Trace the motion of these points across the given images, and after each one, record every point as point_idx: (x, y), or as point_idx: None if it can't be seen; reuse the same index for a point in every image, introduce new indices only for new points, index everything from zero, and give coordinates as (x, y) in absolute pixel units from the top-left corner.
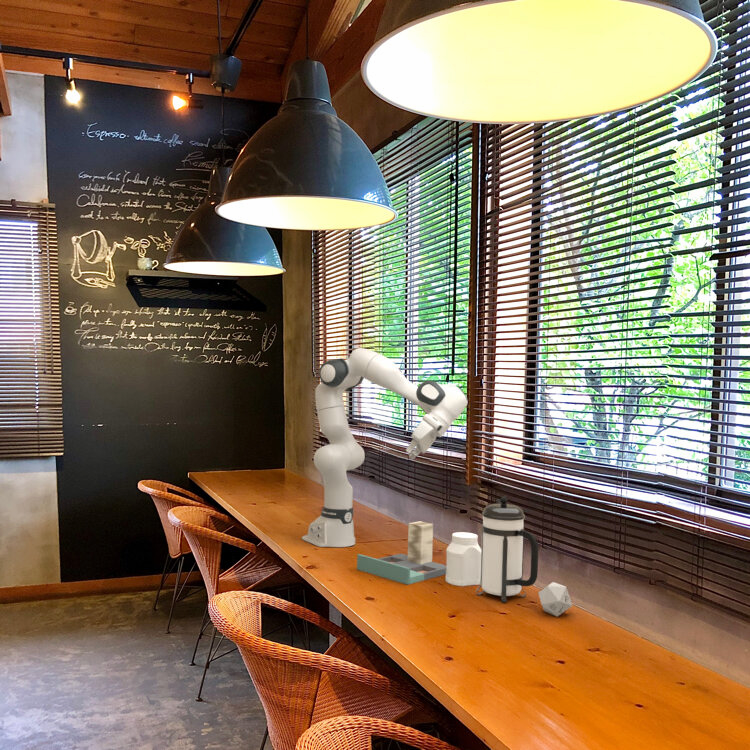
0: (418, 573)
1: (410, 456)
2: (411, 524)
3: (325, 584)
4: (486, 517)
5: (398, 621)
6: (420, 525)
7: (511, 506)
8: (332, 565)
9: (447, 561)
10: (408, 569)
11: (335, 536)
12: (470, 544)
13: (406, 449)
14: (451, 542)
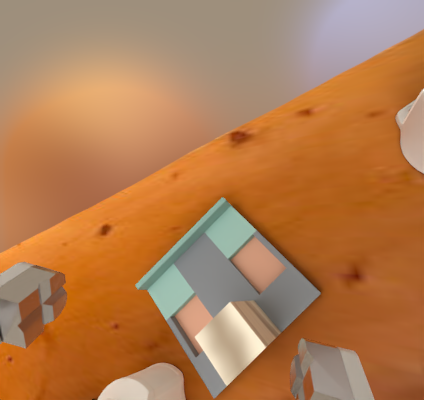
0: (168, 309)
1: (300, 356)
2: (222, 309)
3: (158, 172)
4: None
5: (41, 260)
6: (203, 334)
7: None
8: (251, 165)
9: (138, 372)
10: (136, 286)
11: (414, 131)
12: None
13: (15, 266)
14: (118, 397)
